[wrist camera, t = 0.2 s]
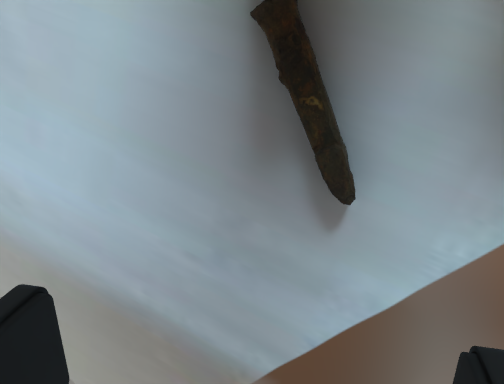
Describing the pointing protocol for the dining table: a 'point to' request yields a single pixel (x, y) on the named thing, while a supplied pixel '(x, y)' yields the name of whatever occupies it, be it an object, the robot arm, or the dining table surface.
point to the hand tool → (307, 92)
